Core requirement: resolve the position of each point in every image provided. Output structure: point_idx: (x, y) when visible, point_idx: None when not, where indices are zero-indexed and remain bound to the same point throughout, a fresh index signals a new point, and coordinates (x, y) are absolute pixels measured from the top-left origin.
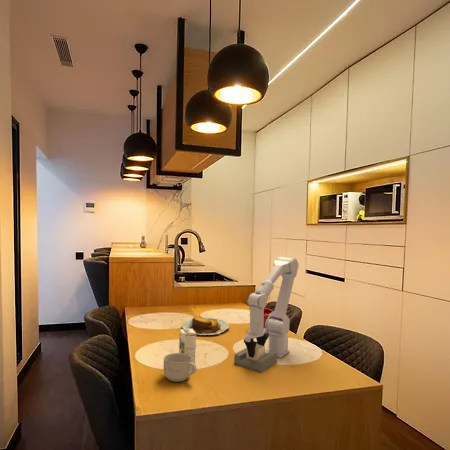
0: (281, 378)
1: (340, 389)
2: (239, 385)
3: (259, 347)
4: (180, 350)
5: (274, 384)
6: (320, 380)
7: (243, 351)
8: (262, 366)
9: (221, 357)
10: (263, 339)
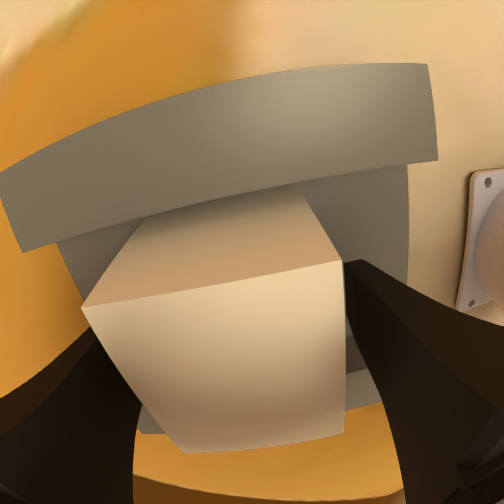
0: None
1: (307, 500)
2: (3, 369)
3: (246, 433)
4: None
5: (142, 444)
6: (322, 479)
7: (128, 164)
8: None
9: None
10: (410, 467)
